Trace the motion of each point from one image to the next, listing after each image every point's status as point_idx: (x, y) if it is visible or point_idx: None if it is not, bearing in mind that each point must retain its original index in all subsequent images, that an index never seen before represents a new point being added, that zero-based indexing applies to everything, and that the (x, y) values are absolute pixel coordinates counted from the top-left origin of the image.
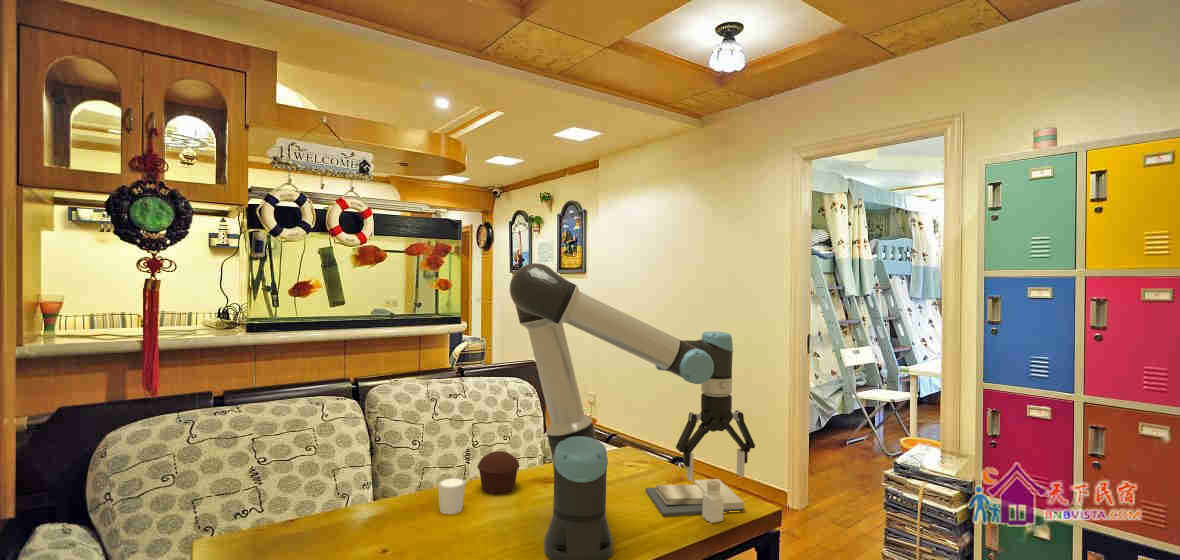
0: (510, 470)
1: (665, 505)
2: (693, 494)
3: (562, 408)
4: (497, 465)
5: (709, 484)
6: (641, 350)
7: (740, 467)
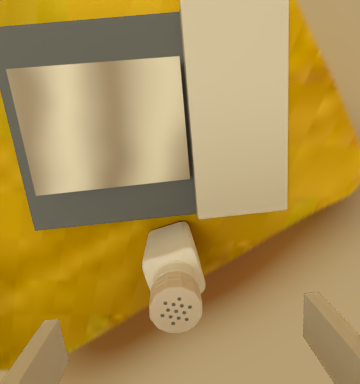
0: None
1: None
2: (140, 153)
3: None
4: None
5: (154, 320)
6: None
7: (331, 368)
